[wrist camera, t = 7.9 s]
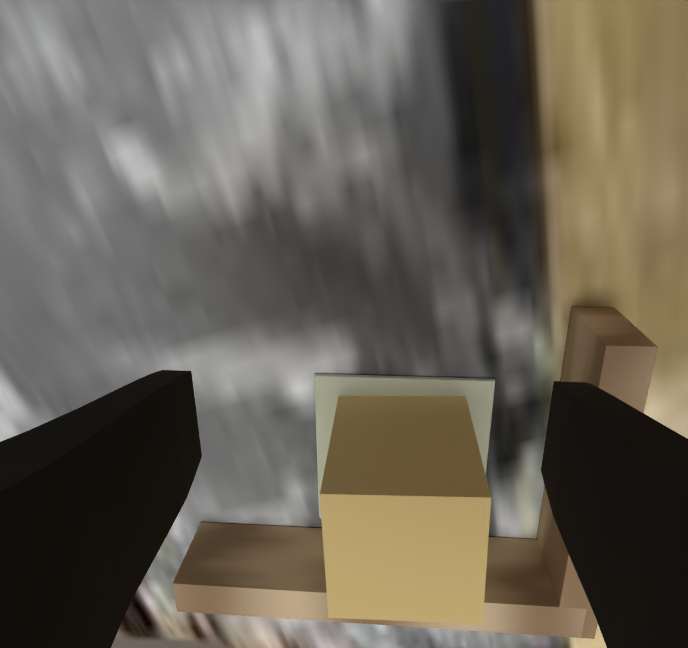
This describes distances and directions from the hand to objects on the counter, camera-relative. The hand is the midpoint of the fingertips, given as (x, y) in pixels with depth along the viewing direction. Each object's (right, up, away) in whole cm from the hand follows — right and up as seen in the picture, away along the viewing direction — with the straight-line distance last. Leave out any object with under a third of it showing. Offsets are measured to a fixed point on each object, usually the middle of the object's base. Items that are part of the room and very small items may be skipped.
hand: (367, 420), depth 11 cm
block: (+2, -3, +12) cm, 12 cm away
